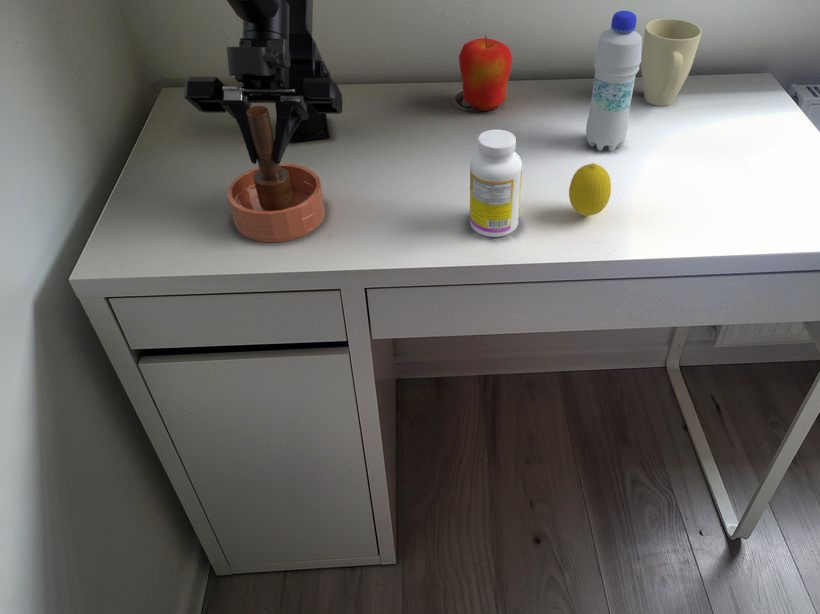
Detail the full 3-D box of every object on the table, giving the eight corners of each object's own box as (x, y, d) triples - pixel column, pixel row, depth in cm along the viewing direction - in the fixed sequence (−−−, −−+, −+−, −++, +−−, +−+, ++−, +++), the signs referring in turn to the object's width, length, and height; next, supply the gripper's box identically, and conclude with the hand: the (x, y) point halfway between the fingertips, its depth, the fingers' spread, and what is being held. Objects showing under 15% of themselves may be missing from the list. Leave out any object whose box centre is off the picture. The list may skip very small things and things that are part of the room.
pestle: (253, 200, 96) (231, 109, 87) (282, 188, 98) (264, 98, 89) (270, 215, 94) (249, 123, 84) (300, 202, 96) (283, 111, 86)
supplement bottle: (490, 205, 100) (493, 119, 91) (528, 222, 97) (535, 136, 88) (459, 226, 96) (459, 139, 87) (498, 245, 93) (502, 157, 84)
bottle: (630, 138, 113) (655, 7, 99) (618, 158, 109) (642, 24, 95) (590, 130, 115) (608, 0, 101) (577, 148, 111) (594, 15, 97)
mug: (617, 98, 123) (629, 27, 115) (657, 83, 128) (671, 14, 119) (665, 123, 117) (681, 50, 109) (705, 106, 121) (723, 35, 113)
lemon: (562, 205, 100) (569, 154, 94) (601, 203, 100) (610, 152, 94) (570, 228, 96) (576, 176, 90) (610, 226, 96) (619, 174, 91)
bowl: (320, 186, 103) (315, 158, 100) (329, 235, 94) (325, 206, 91) (233, 197, 101) (226, 169, 97) (235, 248, 92) (227, 219, 89)
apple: (454, 114, 119) (453, 42, 110) (465, 92, 125) (465, 22, 116) (504, 120, 117) (507, 48, 109) (513, 97, 123) (517, 27, 115)
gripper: (165, 9, 82) (165, 144, 82) (326, 11, 82) (325, 146, 82) (201, 49, 93) (200, 168, 93) (343, 50, 93) (342, 169, 93)
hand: (265, 163), depth 90 cm, fingers closed on pestle, 2 cm apart
